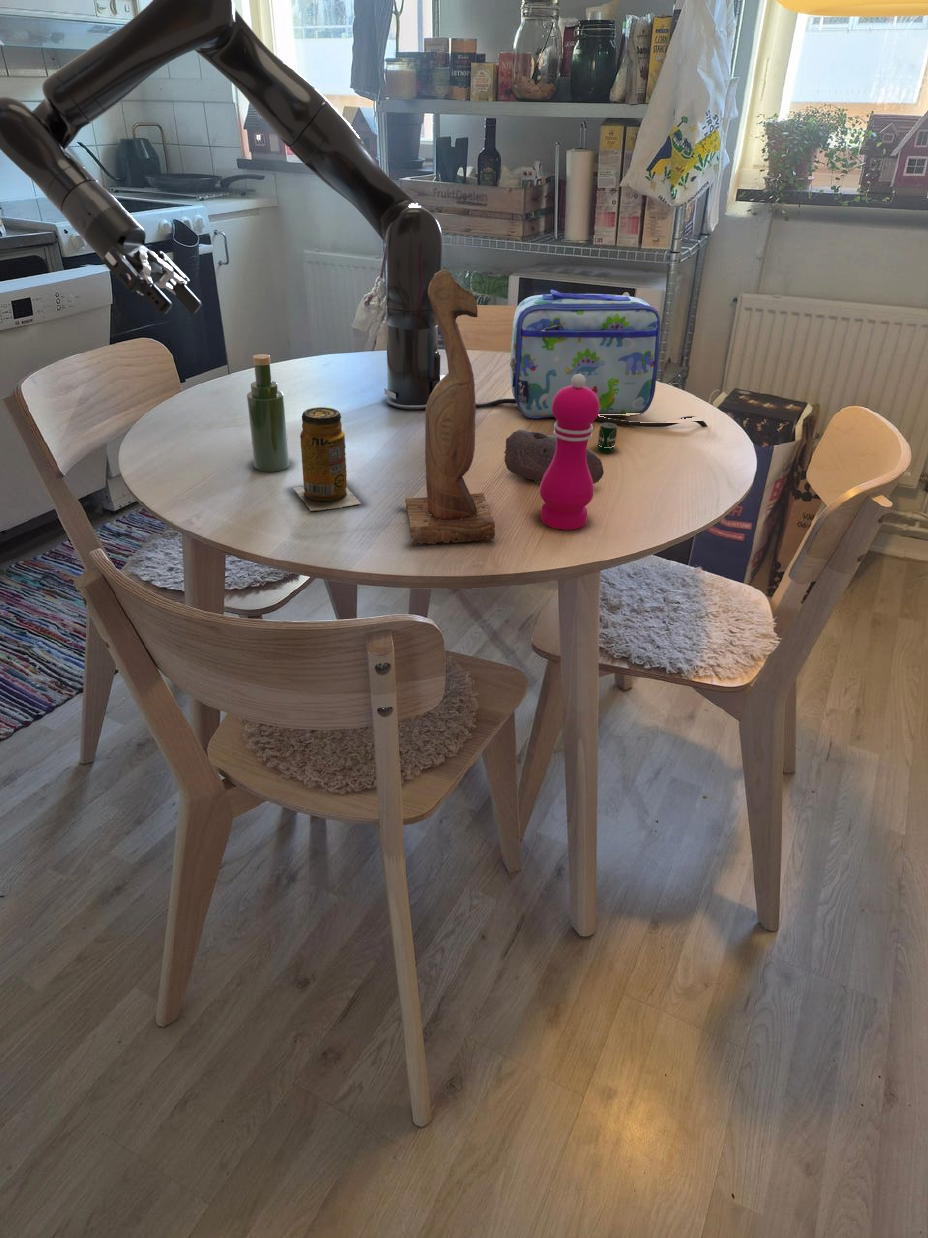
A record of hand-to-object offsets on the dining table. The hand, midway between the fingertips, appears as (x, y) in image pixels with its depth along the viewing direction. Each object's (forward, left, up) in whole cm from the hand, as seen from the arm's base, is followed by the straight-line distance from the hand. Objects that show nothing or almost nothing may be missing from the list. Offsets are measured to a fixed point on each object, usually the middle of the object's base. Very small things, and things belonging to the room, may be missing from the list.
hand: (183, 309), depth 123 cm
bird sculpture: (-33, +38, -20) cm, 54 cm away
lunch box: (-67, -4, -20) cm, 70 cm away
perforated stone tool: (-52, +26, -20) cm, 61 cm away
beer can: (-65, +15, -20) cm, 69 cm away
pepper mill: (-49, +39, -20) cm, 66 cm away
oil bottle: (-11, +13, -20) cm, 26 cm away
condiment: (-18, +26, -20) cm, 37 cm away
